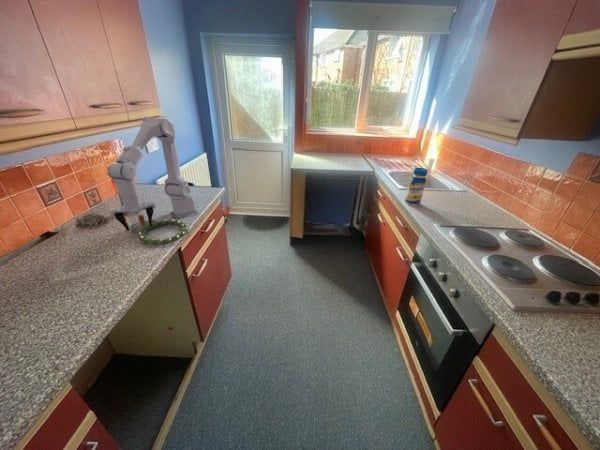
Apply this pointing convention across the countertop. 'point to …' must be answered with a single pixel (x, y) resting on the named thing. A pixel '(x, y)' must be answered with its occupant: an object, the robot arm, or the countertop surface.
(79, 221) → the egg carton
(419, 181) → the beverage bottle
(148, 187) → the countertop surface
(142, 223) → the ring stand
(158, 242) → the ring
